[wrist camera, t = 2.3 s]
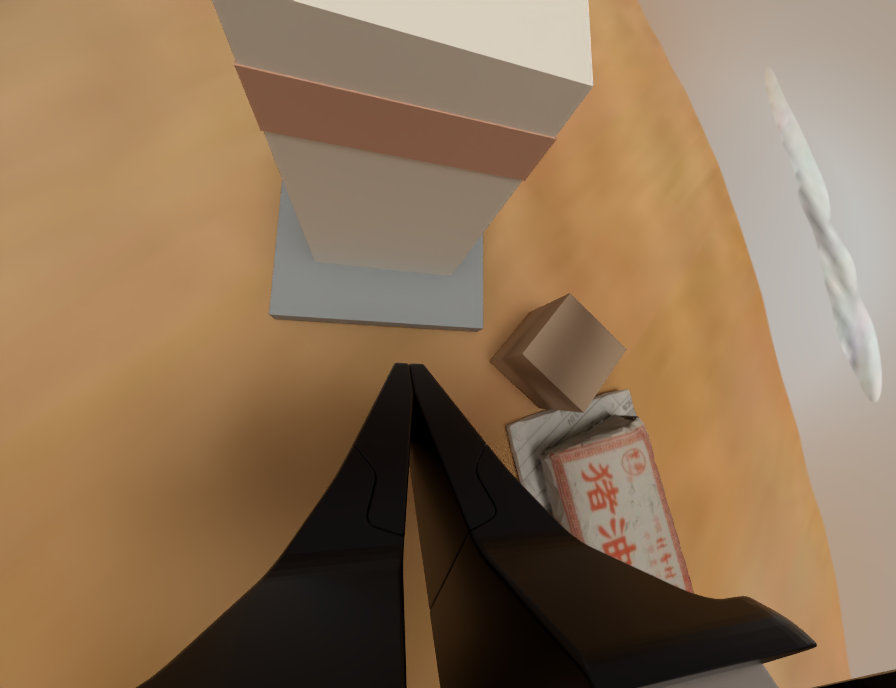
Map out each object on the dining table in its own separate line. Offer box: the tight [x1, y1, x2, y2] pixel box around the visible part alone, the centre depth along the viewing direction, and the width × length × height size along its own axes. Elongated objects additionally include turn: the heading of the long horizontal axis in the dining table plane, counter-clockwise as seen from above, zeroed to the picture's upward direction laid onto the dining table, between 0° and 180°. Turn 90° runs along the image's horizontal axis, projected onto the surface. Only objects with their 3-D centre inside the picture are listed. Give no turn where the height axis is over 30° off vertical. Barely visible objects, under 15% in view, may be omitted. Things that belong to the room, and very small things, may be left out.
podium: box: [269, 180, 483, 332], centre depth 22 cm, size 20×13×2 cm, turn 179°
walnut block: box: [490, 293, 626, 413], centre depth 21 cm, size 5×5×5 cm
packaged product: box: [506, 389, 694, 593], centre depth 21 cm, size 18×5×10 cm
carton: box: [212, 0, 593, 276], centre depth 14 cm, size 7×9×14 cm
